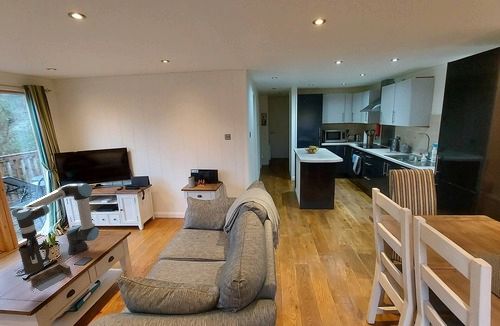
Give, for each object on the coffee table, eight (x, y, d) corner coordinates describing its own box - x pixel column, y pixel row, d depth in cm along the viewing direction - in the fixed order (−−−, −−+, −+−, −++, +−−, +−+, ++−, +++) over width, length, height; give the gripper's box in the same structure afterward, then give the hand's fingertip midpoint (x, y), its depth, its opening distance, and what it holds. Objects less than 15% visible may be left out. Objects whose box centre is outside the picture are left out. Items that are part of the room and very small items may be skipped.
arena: (62, 268, 191) (61, 262, 190) (71, 273, 184) (69, 266, 183) (31, 284, 174) (29, 277, 172) (40, 290, 167) (38, 283, 166)
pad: (60, 272, 187) (60, 271, 187) (68, 276, 181) (68, 276, 181) (33, 285, 172) (33, 285, 172) (41, 290, 166) (41, 290, 166)
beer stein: (24, 277, 158) (18, 249, 156) (22, 271, 165) (17, 245, 162) (53, 266, 170) (48, 240, 167) (50, 261, 177) (45, 237, 174)
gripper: (25, 226, 168) (33, 253, 173) (16, 239, 150) (25, 269, 155) (38, 223, 172) (46, 250, 177) (31, 236, 154) (40, 265, 159)
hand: (36, 259), depth 166 cm, fingers closed on beer stein, 9 cm apart
